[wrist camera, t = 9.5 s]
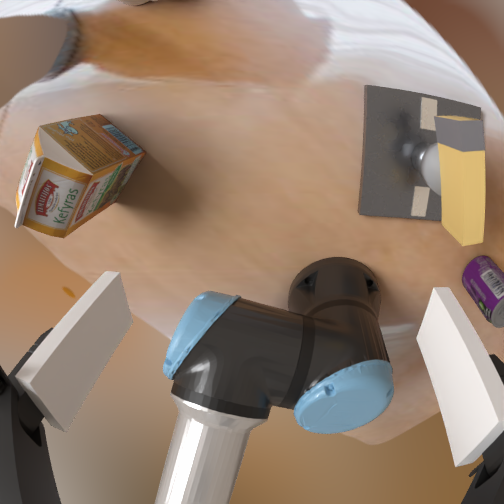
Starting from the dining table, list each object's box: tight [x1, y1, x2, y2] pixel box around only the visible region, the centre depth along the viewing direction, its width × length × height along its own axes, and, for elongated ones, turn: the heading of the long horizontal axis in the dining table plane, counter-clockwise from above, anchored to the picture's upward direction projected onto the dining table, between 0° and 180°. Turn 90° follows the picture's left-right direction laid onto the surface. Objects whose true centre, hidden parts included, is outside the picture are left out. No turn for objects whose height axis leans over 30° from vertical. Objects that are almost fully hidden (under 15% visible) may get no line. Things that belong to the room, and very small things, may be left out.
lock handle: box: [421, 115, 485, 246], centre depth 28 cm, size 6×13×8 cm, turn 14°
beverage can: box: [462, 256, 504, 328], centre depth 39 cm, size 7×7×12 cm
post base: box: [358, 85, 481, 221], centre depth 35 cm, size 18×18×7 cm
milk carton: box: [15, 114, 146, 238], centre depth 36 cm, size 11×11×19 cm
